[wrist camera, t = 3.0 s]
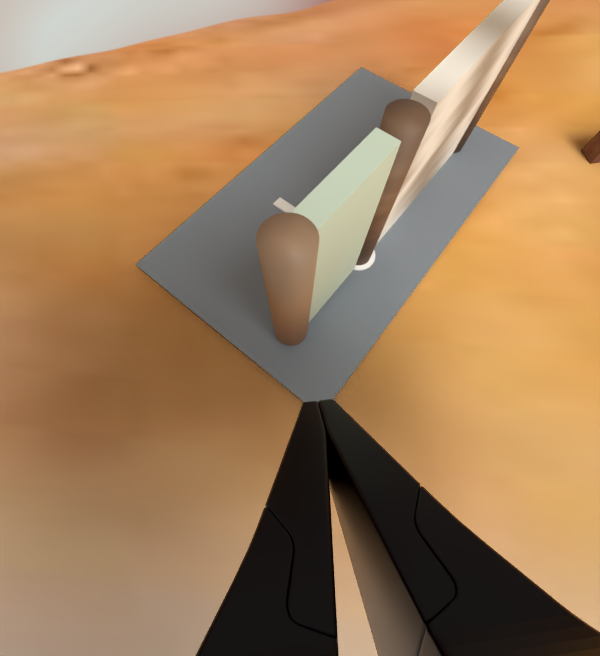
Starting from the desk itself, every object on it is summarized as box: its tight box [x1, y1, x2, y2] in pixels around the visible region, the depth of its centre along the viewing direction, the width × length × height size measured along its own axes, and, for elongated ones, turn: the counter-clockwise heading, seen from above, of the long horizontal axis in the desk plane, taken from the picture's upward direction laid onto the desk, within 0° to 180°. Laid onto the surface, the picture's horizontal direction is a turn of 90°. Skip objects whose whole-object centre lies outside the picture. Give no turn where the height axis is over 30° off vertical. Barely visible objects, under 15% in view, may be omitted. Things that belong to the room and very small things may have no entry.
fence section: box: [356, 0, 550, 265], centre depth 16 cm, size 14×2×8 cm, turn 141°
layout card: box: [136, 67, 519, 402], centre depth 20 cm, size 24×14×1 cm, turn 142°
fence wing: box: [256, 127, 401, 346], centre depth 13 cm, size 6×2×8 cm, turn 141°
